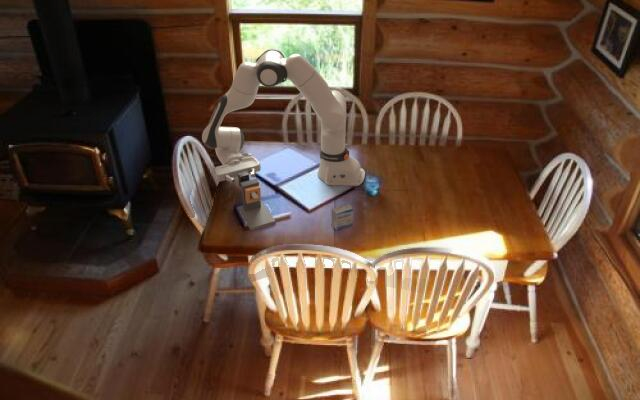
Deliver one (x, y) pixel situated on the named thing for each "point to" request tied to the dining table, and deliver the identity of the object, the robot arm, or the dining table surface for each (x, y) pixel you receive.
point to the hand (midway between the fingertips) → (243, 178)
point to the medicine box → (341, 216)
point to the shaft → (245, 177)
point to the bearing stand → (255, 209)
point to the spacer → (250, 190)
